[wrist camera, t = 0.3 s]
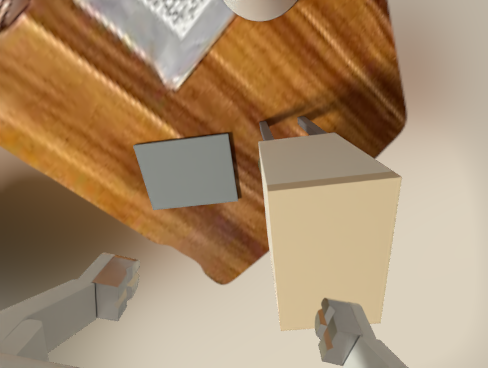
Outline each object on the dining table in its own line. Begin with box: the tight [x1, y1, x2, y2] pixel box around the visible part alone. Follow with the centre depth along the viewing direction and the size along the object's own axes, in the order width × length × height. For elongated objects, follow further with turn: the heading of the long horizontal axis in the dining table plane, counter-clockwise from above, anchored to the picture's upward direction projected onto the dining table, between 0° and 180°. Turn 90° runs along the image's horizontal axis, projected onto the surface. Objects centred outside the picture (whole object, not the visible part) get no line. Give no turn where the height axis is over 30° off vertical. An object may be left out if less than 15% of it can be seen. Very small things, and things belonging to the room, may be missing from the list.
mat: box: [134, 133, 238, 210], centre depth 49 cm, size 18×14×1 cm
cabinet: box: [258, 117, 402, 331], centre depth 35 cm, size 10×16×29 cm, turn 7°
